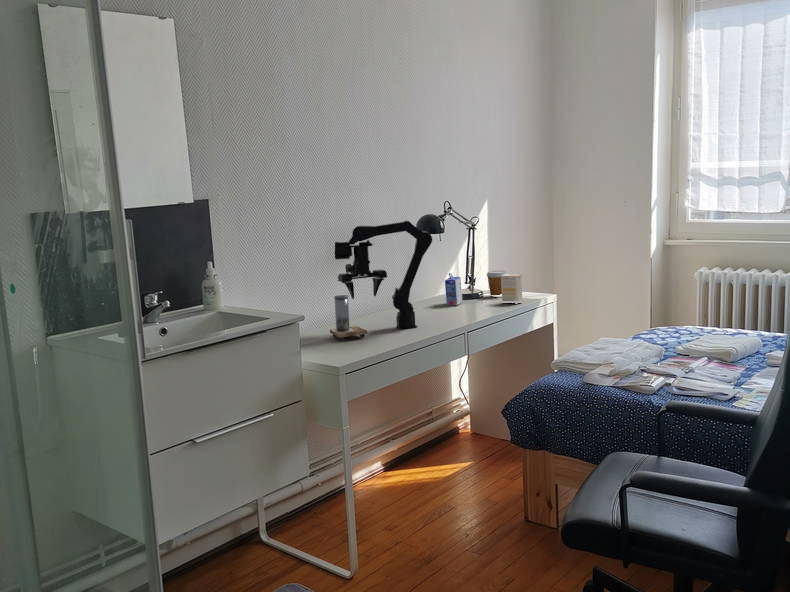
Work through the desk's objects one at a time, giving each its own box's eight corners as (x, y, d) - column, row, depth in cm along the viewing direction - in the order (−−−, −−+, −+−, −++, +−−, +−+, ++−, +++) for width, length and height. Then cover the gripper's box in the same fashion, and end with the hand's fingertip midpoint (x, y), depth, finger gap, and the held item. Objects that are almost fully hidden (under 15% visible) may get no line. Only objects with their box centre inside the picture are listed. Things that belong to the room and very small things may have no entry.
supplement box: (522, 303, 340) (522, 274, 338) (517, 304, 337) (516, 275, 335) (507, 302, 346) (506, 273, 344) (501, 303, 342) (500, 274, 340)
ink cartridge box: (451, 302, 353) (449, 271, 351) (462, 302, 351) (461, 271, 349) (445, 306, 344) (444, 274, 342) (457, 306, 342) (456, 274, 340)
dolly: (357, 333, 294) (356, 325, 293) (367, 337, 284) (367, 330, 283) (330, 336, 290) (329, 329, 289) (339, 341, 280) (339, 334, 279)
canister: (343, 328, 290) (341, 294, 288) (352, 329, 286) (351, 295, 284) (333, 330, 286) (331, 296, 284) (342, 332, 282) (340, 297, 280)
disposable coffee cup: (507, 294, 366) (507, 270, 364) (507, 298, 357) (506, 272, 355) (488, 295, 368) (487, 270, 366) (486, 298, 359) (485, 273, 357)
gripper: (375, 254, 307) (378, 292, 309) (332, 258, 299) (334, 297, 302) (386, 256, 297) (388, 295, 299) (341, 261, 289) (344, 301, 292)
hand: (363, 297), depth 298 cm, fingers open, 9 cm apart
